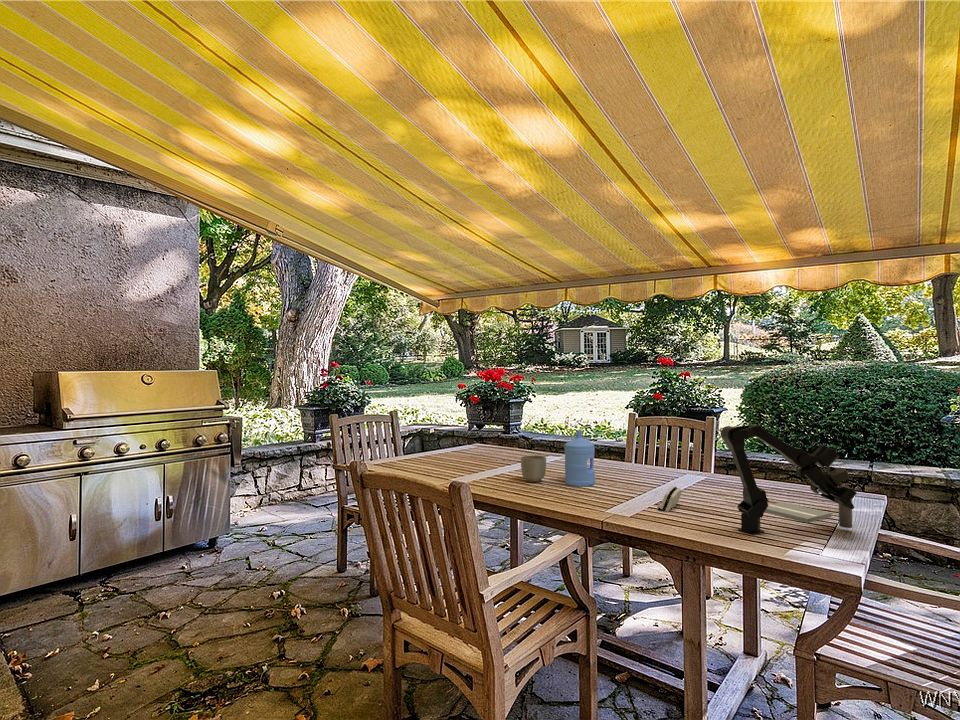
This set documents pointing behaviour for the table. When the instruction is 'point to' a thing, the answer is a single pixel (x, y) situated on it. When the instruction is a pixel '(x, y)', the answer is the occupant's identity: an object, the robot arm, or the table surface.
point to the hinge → (670, 498)
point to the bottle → (845, 516)
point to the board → (796, 512)
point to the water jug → (579, 461)
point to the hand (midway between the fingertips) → (849, 506)
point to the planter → (533, 467)
